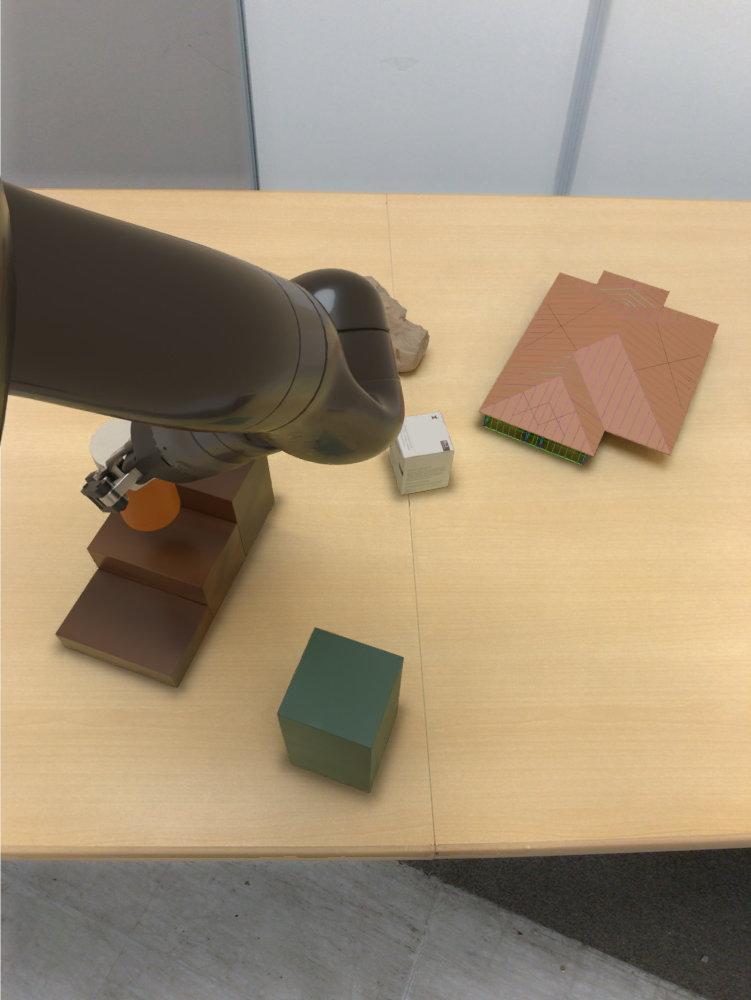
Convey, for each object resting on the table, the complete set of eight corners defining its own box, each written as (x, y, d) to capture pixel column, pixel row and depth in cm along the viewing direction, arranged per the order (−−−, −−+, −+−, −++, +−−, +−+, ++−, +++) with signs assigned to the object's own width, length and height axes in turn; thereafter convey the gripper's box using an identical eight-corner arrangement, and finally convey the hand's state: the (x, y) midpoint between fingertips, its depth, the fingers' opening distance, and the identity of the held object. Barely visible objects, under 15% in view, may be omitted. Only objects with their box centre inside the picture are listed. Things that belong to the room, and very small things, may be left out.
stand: (369, 793, 69) (371, 748, 57) (290, 763, 70) (276, 714, 58) (397, 713, 73) (404, 656, 61) (321, 686, 74) (314, 626, 63)
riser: (177, 687, 74) (151, 642, 65) (64, 646, 76) (24, 597, 67) (275, 502, 87) (265, 442, 78) (176, 471, 89) (155, 410, 80)
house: (714, 330, 105) (738, 283, 98) (651, 498, 88) (675, 456, 82) (561, 279, 111) (574, 232, 104) (474, 428, 94) (483, 383, 87)
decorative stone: (276, 340, 102) (269, 281, 94) (301, 307, 106) (296, 248, 98) (411, 385, 98) (416, 328, 90) (432, 348, 102) (438, 290, 94)
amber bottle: (163, 539, 70) (136, 476, 61) (109, 522, 71) (75, 457, 62) (192, 492, 73) (170, 425, 64) (139, 476, 74) (111, 408, 65)
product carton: (388, 457, 91) (390, 417, 85) (435, 449, 92) (440, 409, 86) (400, 496, 88) (403, 458, 82) (449, 487, 89) (456, 449, 83)
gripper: (225, 326, 56) (140, 378, 69) (96, 455, 49) (29, 487, 62) (290, 399, 59) (197, 437, 72) (177, 532, 52) (96, 547, 65)
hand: (119, 460), depth 67 cm, fingers closed on amber bottle, 5 cm apart
